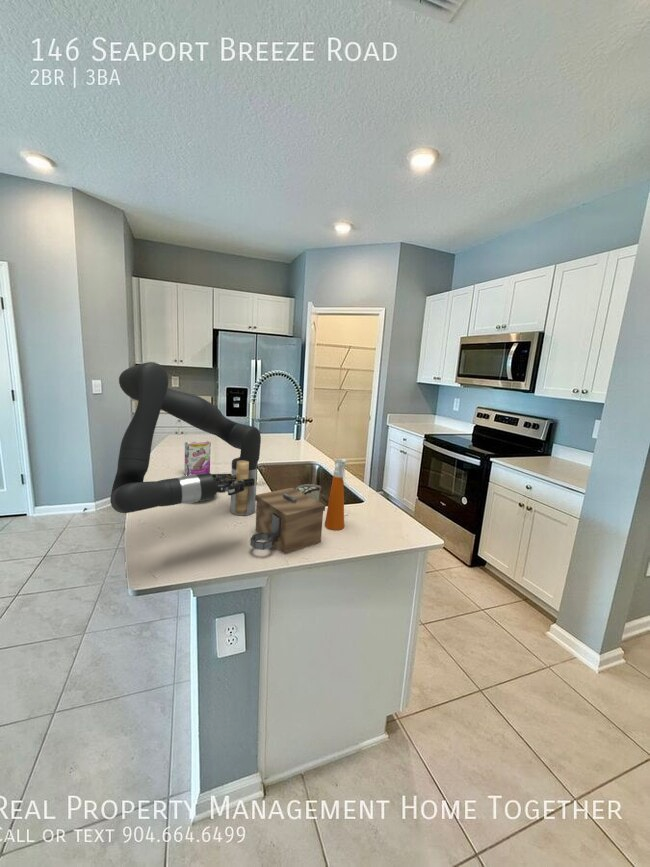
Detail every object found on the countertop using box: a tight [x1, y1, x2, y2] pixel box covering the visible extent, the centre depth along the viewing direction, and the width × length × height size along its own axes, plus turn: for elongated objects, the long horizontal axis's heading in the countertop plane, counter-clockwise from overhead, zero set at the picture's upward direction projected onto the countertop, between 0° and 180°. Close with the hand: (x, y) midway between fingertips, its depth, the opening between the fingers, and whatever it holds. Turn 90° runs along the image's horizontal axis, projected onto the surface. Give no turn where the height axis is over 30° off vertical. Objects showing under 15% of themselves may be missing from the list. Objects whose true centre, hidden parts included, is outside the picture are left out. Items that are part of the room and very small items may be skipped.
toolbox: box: [255, 487, 326, 555], centre depth 117 cm, size 19×15×14 cm
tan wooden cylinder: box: [235, 460, 249, 516], centre depth 108 cm, size 4×4×16 cm
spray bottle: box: [324, 458, 348, 531], centre depth 124 cm, size 7×11×26 cm, turn 16°
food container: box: [295, 483, 322, 502], centre depth 138 cm, size 12×6×10 cm, turn 141°
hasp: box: [249, 514, 281, 551], centre depth 107 cm, size 7×8×8 cm
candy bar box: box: [184, 440, 211, 476], centre depth 172 cm, size 11×5×16 cm, turn 130°
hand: (250, 479), depth 109 cm, fingers closed on tan wooden cylinder, 3 cm apart
